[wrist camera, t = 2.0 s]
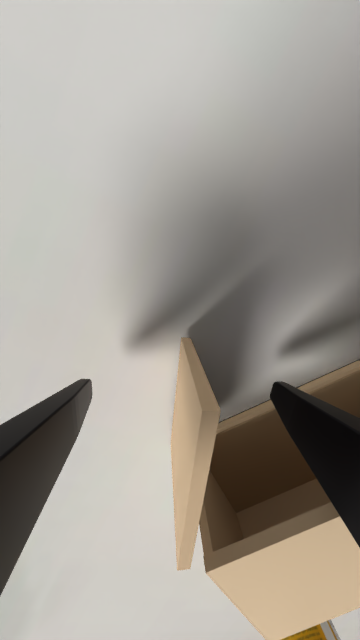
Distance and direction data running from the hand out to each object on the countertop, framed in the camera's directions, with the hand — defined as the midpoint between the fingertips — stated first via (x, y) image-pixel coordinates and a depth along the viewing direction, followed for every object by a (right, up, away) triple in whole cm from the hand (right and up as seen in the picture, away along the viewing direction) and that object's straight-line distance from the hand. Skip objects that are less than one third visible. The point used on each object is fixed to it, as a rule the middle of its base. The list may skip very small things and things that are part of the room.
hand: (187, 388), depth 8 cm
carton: (+9, -5, +5) cm, 12 cm away
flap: (0, -1, +2) cm, 2 cm away
